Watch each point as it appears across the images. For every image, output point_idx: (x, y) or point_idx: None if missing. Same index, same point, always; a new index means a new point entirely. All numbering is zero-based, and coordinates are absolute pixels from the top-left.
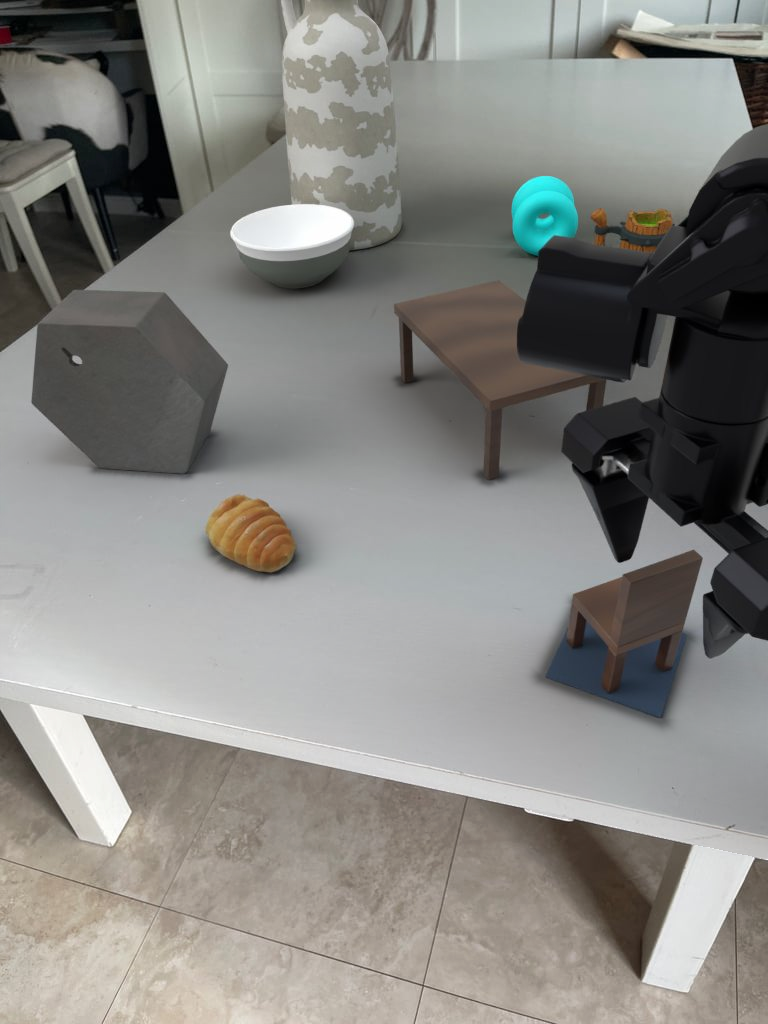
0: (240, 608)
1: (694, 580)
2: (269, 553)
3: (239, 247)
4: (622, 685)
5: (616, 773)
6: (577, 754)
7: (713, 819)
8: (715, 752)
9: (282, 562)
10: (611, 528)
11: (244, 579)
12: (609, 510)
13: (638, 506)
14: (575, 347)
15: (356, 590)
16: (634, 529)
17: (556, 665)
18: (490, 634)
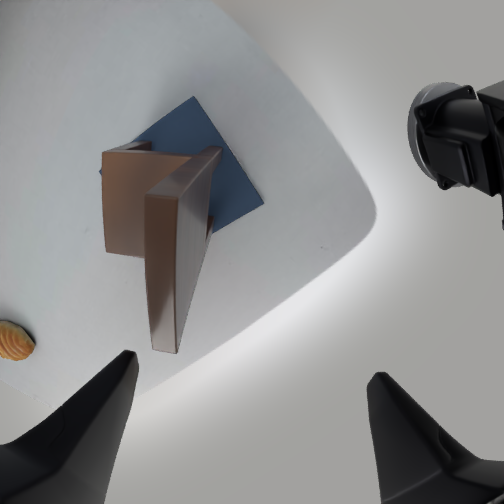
0: (58, 365)
1: (193, 186)
2: (26, 350)
3: None
4: (211, 208)
5: (283, 274)
6: (250, 287)
7: (359, 241)
8: (322, 189)
9: (30, 343)
10: (115, 452)
11: (39, 352)
12: (102, 485)
13: (84, 455)
14: None
15: (49, 316)
16: (109, 411)
17: None
18: (106, 268)
